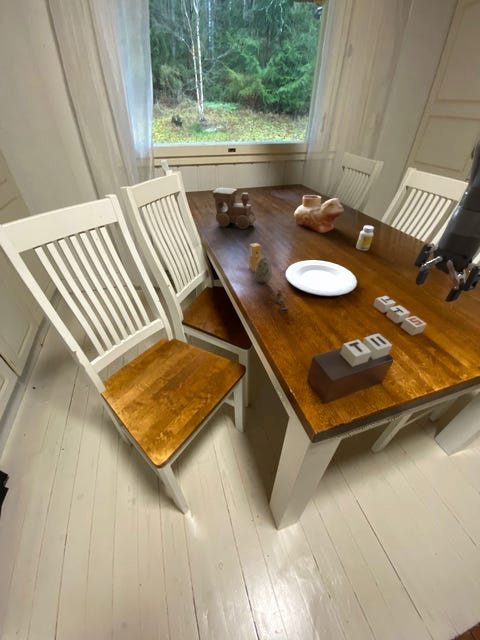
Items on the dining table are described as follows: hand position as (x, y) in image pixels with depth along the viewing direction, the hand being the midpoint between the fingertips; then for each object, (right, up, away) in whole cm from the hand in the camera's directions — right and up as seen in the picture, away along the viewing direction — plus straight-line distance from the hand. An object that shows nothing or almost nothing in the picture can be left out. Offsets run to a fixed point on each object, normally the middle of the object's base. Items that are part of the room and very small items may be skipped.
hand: (433, 292), depth 69 cm
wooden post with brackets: (-37, -3, +17) cm, 41 cm away
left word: (-22, -14, -10) cm, 29 cm away
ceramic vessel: (-10, +42, +73) cm, 85 cm away
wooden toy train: (-52, +43, +74) cm, 100 cm away
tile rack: (-25, -21, -6) cm, 33 cm away
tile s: (0, -10, +9) cm, 13 cm away
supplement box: (-44, +12, +36) cm, 58 cm away
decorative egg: (-41, +6, +28) cm, 50 cm away
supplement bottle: (+5, +25, +52) cm, 58 cm away
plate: (-20, +7, +30) cm, 37 cm away
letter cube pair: (-3, -5, +15) cm, 16 cm away
